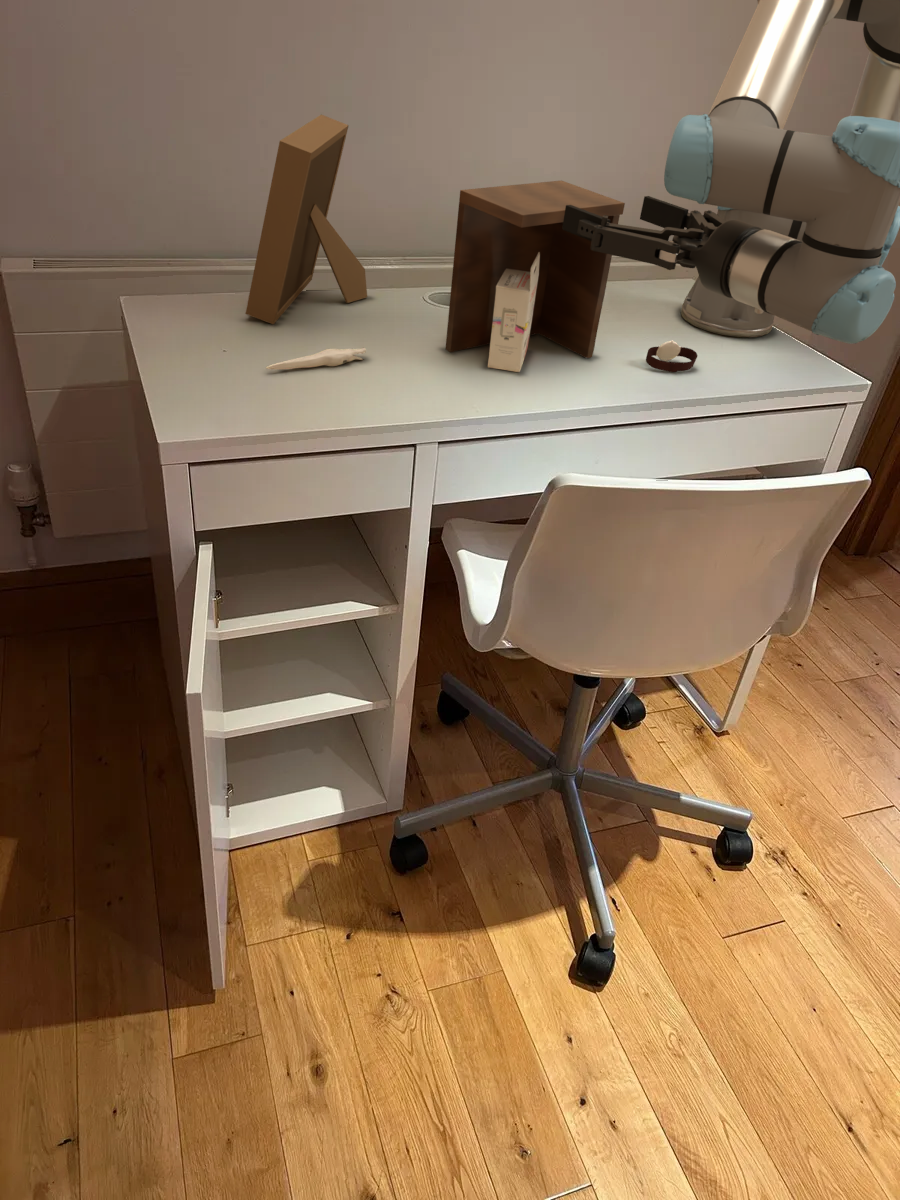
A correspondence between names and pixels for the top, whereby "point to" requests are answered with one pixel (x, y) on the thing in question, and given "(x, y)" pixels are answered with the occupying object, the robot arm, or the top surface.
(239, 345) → the top surface
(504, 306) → the ink cartridge box
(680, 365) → the watch
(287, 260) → the photo frame
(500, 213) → the shelf
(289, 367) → the beige tapered rod
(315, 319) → the top surface
